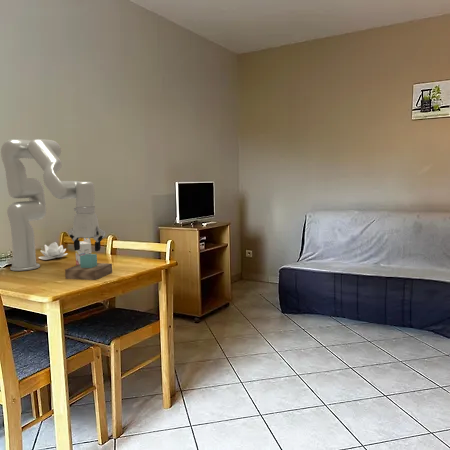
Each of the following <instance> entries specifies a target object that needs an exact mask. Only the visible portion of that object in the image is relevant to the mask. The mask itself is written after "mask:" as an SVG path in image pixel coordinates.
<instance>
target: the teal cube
mask: <svg viewBox="0 0 450 450" xmlns="http://www.w3.org/2000/svg"><path fill="white" fill-rule="evenodd" d="M97 263H98V255H97V254H96V253H92V254H85V255H82V256H80V265H81V268H92V267H95V266H97Z"/></svg>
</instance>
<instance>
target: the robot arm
mask: <svg viewBox="0 0 450 450" xmlns="http://www.w3.org/2000/svg"><path fill="white" fill-rule="evenodd" d="M61 154H62V148H61V146H60V144H59V142H57V141H56V140H53V139H44V138H33V139H32V140H31V139H21V138H11V139H7V140H6V141H4V142H3V143H2V145H1V148H0V157H1V161H2V163H3V168H4V169H5V170H4V171H5V178H6V186H7V192H8V194H9V197H11V198H12V199H20V201H14V202H12V203H10V204H9V205H8V207H7V209H6V213H7V216H8V217H7V218H8V220H9V221H8V222H9V225H10V226H9V227H10V233H11V244H12V245H11V246H12V256H13V258H12V259H11V258H9V260H8V261H7V264H9V265H11V266H10V267H9V268H10V270H11V271H14V272H15V271H16V272H21V271H32V270H35V269H38V268H40V267H41V264H40V263H38V262H37V256H36V255H37V254H36V241H35V232H34V231H35V230H34V227H33V226H32V224H31V223H30V222H31V221H34V222H35V221H39V220H42V219H44V218H45V216H46V214H47V206H46V204H47V203H46V197H45V196H46V195H45V190H44V186H43V183H44V185H45V187H46V189H47V190H48V191H49V192H50V194H51V195H52V196H53V197H55V198H57V199H59V200H66V199H75V207H74V208H73V211H74V212H75V213H74V216H73V221H72V222H73V223H72V224H73V225H72V228H70V229H69V230H67V233H68V235H69V237H70V240H71V241H72V242H73V248H74V251H75V250H79V249H80V242H81V241H80V238H81V239H84V238H86V239H88V238H90V239H93V240H94V241H95V242H94V252H100V251H101V249H102V248H101V246H102V245H101V242H102V240H103V239H104V238H105V236H106V233H107V232H106V231H105V229H104V230H103V229H102V228H100V225H99V219H98V214H97V213H96V207H95V206H96V202H95V200H96V199H95V184H94V182H92V181H79V180H61V179H59V177H58V176H57V175H56V174H57V173H58V171H59V170H60V169H61V168H62V165H63V162H62V160H61V159H60V158H59V157H60V156H61ZM20 159H30V160H31V159H33V160H35V161H36V163H37V165H38V166H39V167H40V168H41V169H42V171H43V174H42V178H43V183H42V182H41V181H40V180H39V179H38V178H34V177H28V175H27V170H26V167H25V165H24V163H23V162H22V161H21V160H20ZM21 199H28V200H24V201H23V200H22V201H21ZM99 235H100V236H99Z"/></svg>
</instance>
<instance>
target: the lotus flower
mask: <svg viewBox="0 0 450 450" xmlns="http://www.w3.org/2000/svg"><path fill="white" fill-rule="evenodd" d="M40 248H41V250H40V253H42V255H41V256H38V257H37V258H38V259H40V260H43V261H47V260H52V259H56V258H62V257H66V256H67V255H68V254H69V253H67V252H66V251H67V248H64V245H63V244H61V245H58V243H57V242H56V241H54V242H51V243H50V244H48V245H47V244H44V248H43V247H40ZM65 252H66V253H65Z"/></svg>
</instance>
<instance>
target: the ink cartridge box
mask: <svg viewBox="0 0 450 450" xmlns="http://www.w3.org/2000/svg"><path fill="white" fill-rule="evenodd" d="M74 251H75V266H76V265H79V264H80V256H82V255H85V254H93V253H92V243H91V238H83V241H80V249H79V250H75V249H74Z"/></svg>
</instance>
